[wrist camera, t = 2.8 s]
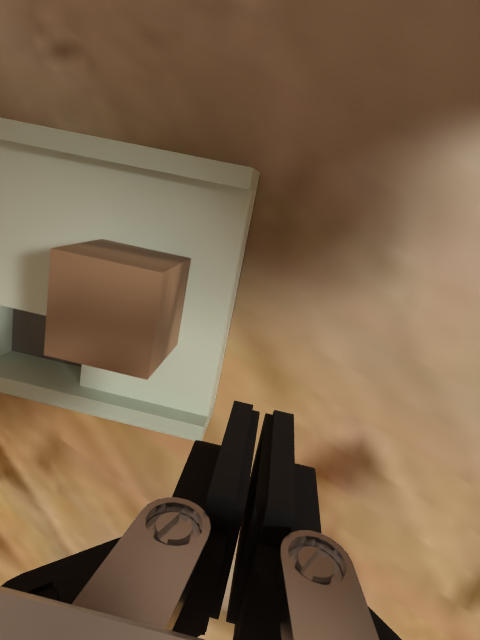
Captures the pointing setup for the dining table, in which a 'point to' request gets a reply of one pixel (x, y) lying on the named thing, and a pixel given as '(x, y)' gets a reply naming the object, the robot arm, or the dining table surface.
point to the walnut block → (114, 305)
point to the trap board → (128, 228)
